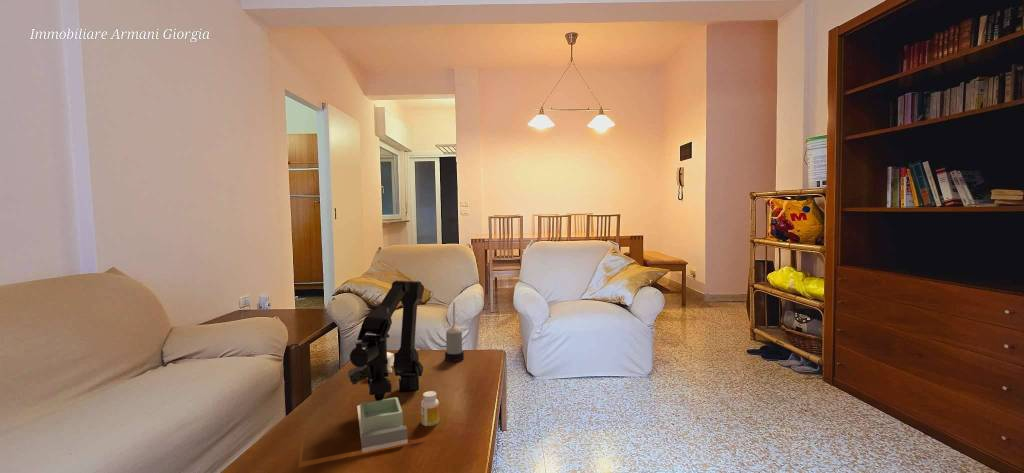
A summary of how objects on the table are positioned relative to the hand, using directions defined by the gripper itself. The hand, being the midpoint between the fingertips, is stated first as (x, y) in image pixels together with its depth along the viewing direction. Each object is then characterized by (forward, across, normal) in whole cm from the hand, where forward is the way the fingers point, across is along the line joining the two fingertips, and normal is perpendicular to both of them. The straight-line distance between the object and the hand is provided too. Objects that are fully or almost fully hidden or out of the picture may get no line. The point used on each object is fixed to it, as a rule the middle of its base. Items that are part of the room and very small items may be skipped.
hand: (378, 405), depth 135 cm
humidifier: (+5, -44, +35) cm, 57 cm away
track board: (+5, +4, 0) cm, 6 cm away
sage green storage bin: (+4, +7, 0) cm, 8 cm away
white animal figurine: (+5, -42, +5) cm, 43 cm away
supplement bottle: (+5, +9, +14) cm, 18 cm away
